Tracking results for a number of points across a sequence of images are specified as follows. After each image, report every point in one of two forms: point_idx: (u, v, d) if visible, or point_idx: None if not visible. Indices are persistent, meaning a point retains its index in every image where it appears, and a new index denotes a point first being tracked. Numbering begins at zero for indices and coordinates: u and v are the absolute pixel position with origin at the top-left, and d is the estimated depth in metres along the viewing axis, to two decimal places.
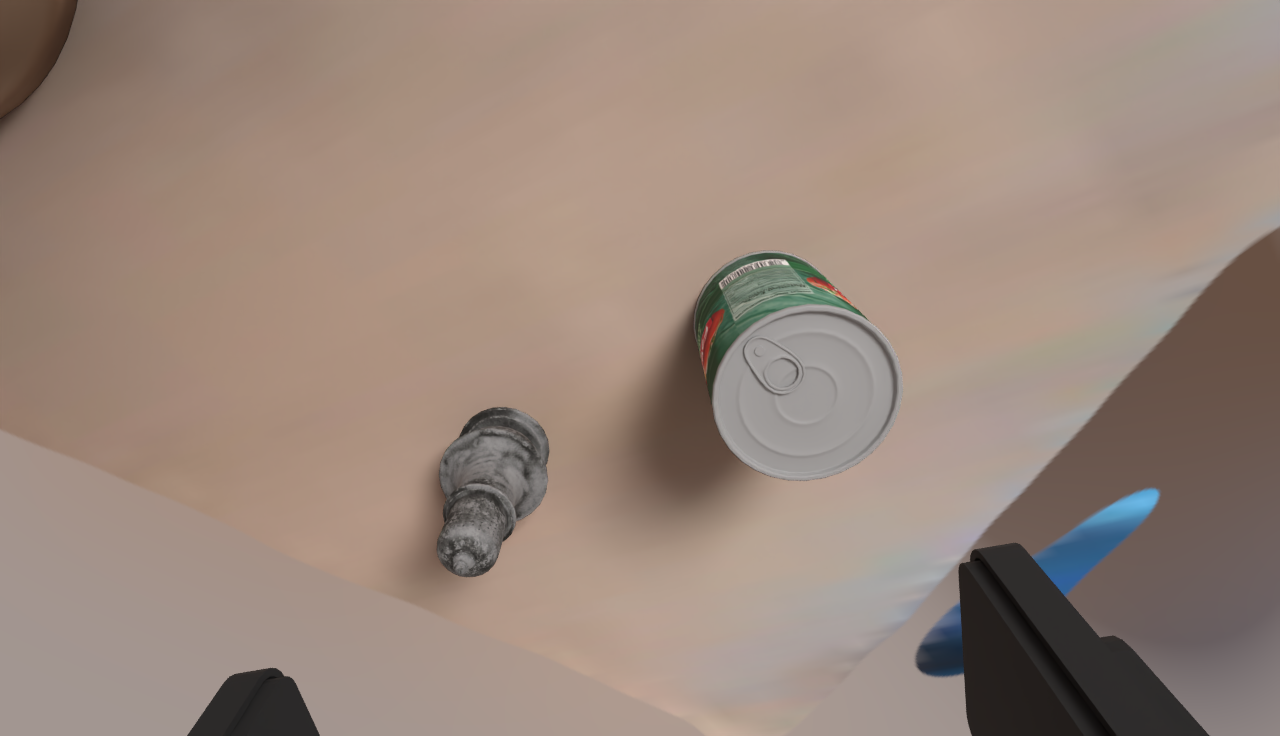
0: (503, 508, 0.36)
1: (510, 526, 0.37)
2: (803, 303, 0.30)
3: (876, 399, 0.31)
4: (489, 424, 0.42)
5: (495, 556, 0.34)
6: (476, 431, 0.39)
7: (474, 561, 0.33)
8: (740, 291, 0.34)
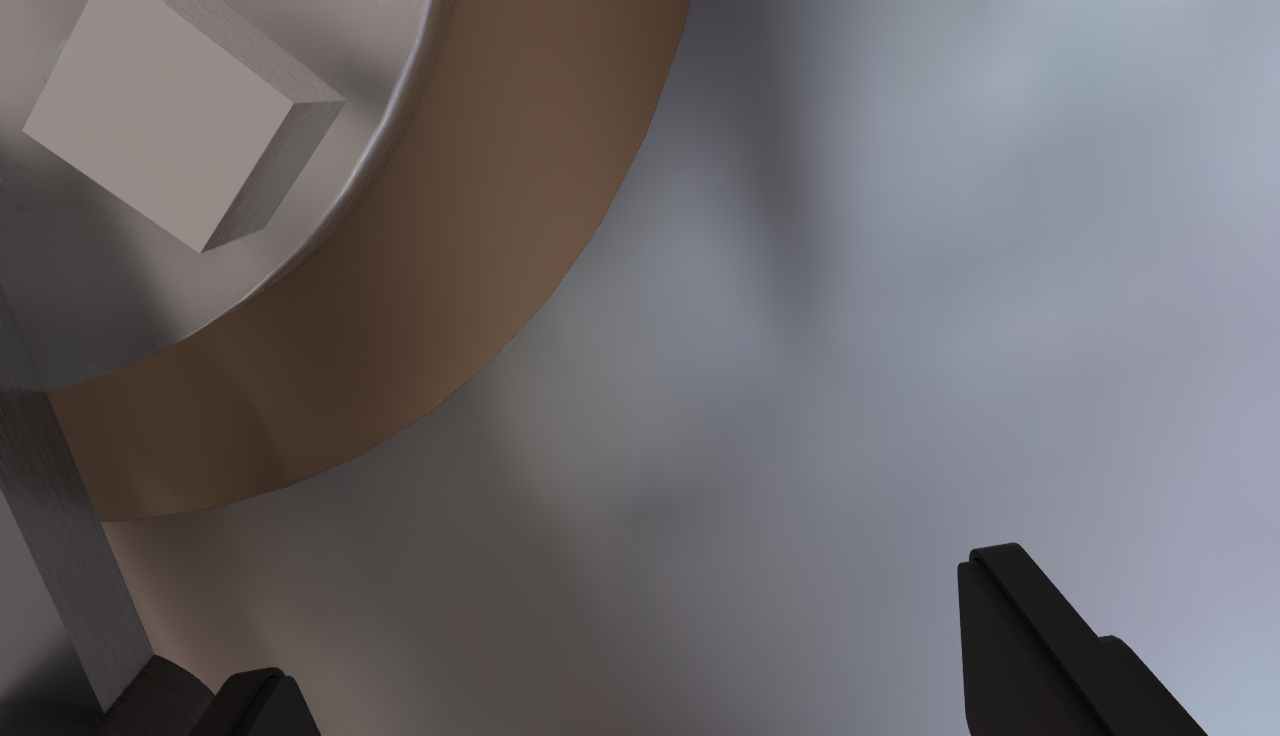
0: None
1: None
2: None
3: None
4: None
5: None
6: None
7: None
8: None
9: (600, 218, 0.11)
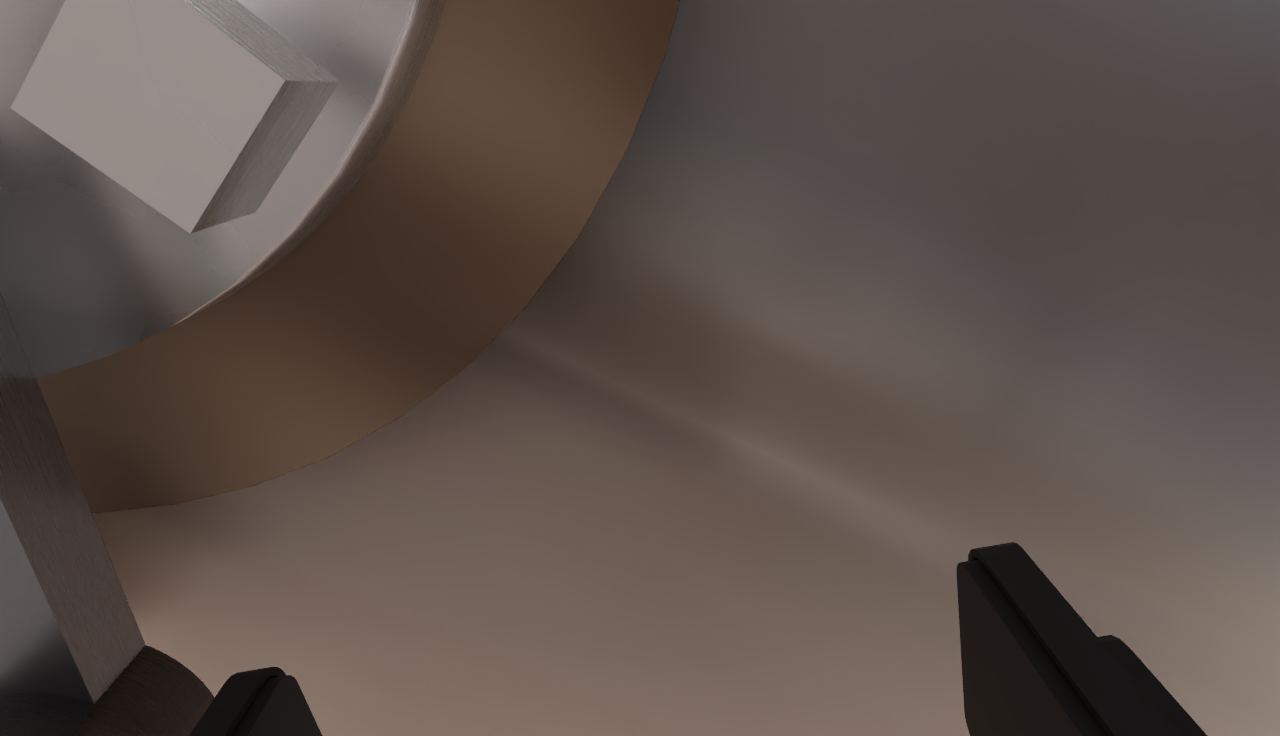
0: None
1: None
2: None
3: None
4: None
5: None
6: None
7: None
8: None
9: None
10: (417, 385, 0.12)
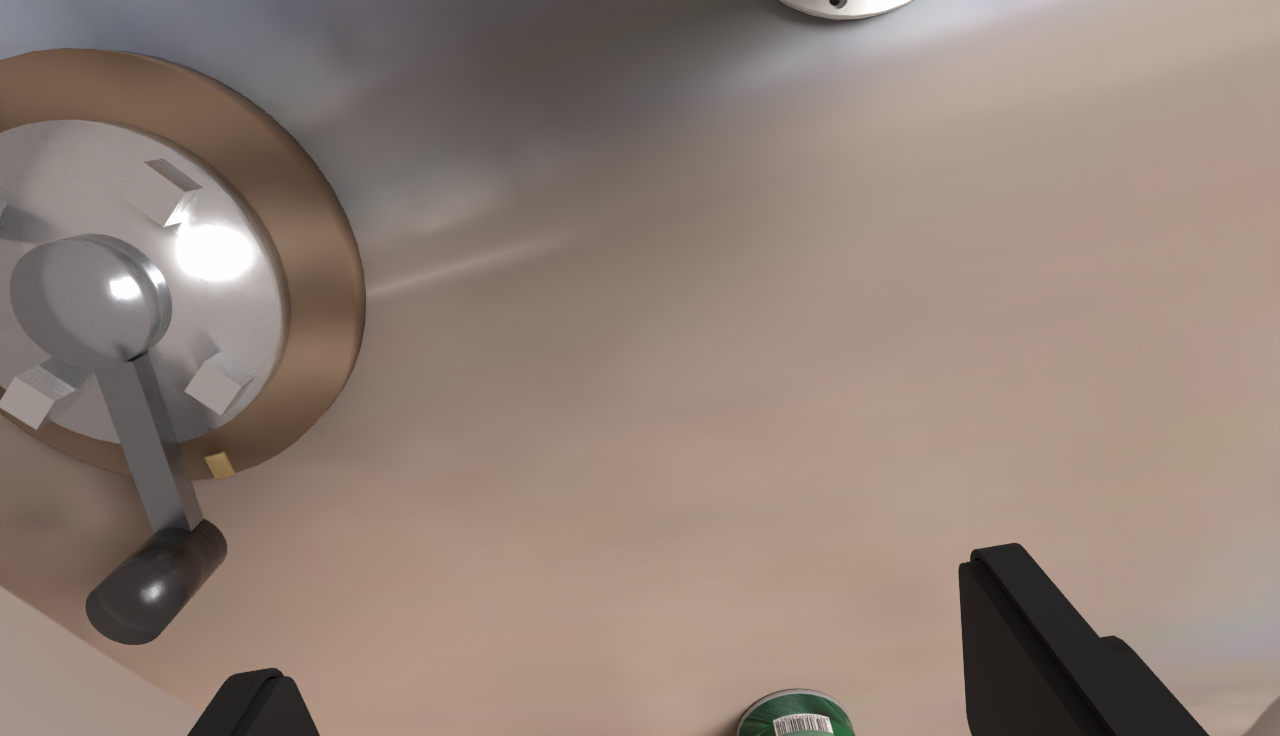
0: None
1: None
2: None
3: None
4: None
5: None
6: None
7: None
8: None
9: (192, 79, 0.34)
10: (347, 321, 0.38)
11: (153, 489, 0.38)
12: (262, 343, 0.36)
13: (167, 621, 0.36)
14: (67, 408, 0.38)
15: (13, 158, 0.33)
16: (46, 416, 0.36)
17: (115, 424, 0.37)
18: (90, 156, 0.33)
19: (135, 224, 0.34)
